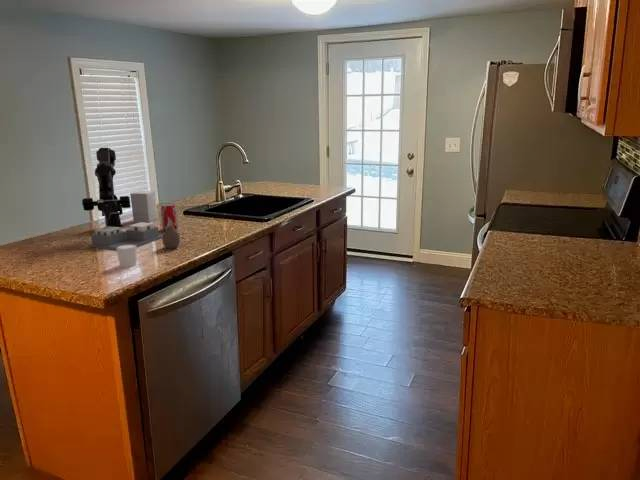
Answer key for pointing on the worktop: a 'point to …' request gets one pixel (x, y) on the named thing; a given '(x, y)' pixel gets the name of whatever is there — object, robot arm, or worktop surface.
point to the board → (125, 238)
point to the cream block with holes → (141, 226)
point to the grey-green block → (108, 230)
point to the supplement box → (144, 206)
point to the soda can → (169, 215)
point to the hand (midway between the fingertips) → (107, 219)
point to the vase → (171, 238)
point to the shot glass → (127, 255)
